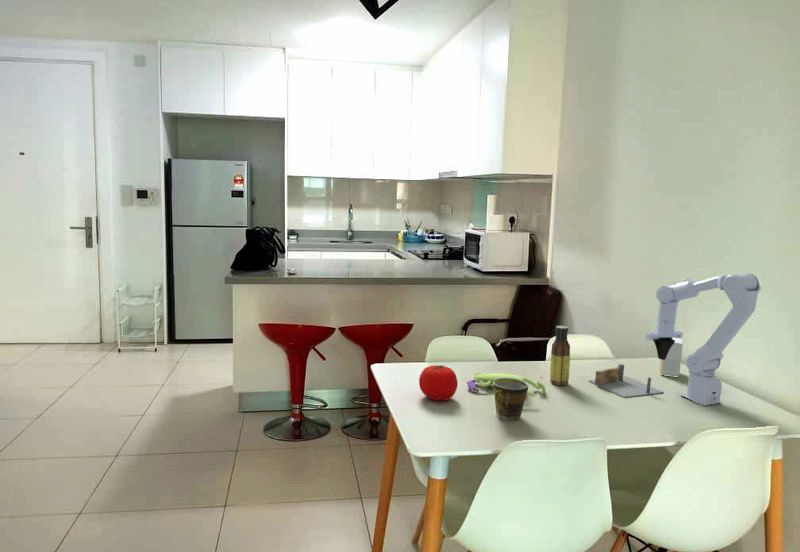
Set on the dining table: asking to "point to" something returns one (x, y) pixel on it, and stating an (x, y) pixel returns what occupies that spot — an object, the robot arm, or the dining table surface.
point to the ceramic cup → (509, 397)
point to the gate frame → (628, 386)
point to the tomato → (438, 382)
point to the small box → (672, 359)
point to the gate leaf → (607, 375)
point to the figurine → (490, 378)
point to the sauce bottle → (560, 358)
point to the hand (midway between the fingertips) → (661, 358)
